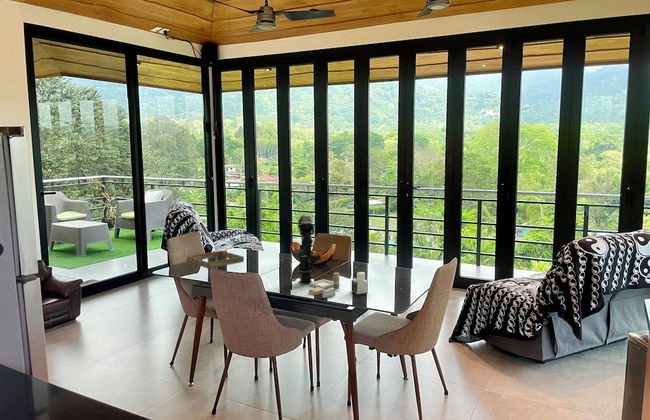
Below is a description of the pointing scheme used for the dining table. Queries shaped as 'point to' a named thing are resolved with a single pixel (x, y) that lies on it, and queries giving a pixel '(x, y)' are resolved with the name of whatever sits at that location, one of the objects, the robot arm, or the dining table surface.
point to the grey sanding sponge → (328, 292)
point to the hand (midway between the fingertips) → (306, 269)
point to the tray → (322, 284)
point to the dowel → (336, 280)
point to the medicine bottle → (359, 283)
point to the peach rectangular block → (316, 291)
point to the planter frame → (198, 261)
